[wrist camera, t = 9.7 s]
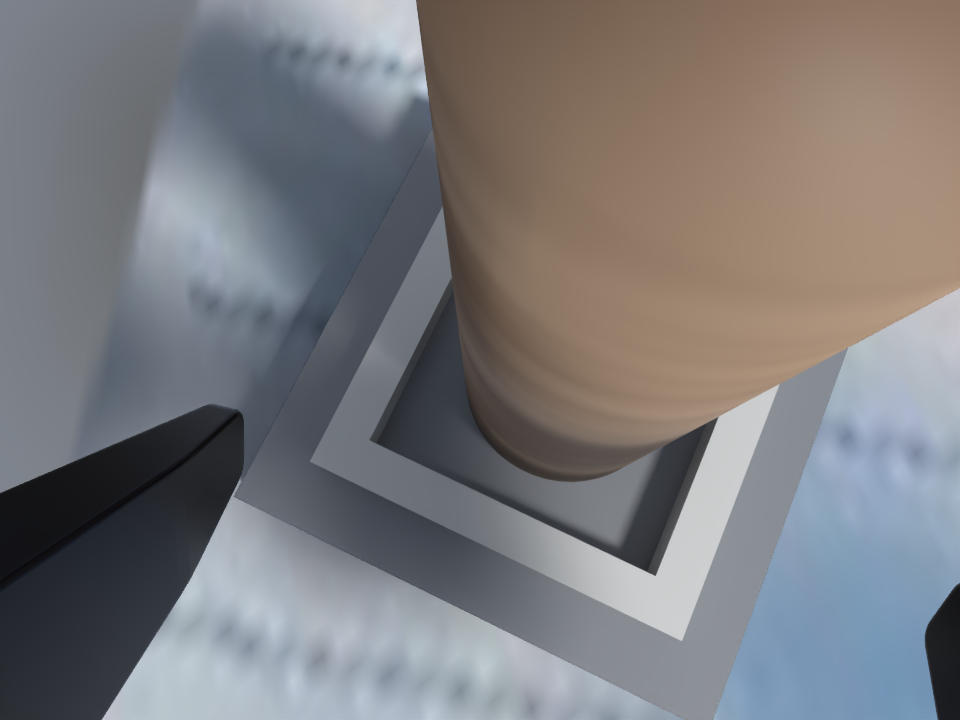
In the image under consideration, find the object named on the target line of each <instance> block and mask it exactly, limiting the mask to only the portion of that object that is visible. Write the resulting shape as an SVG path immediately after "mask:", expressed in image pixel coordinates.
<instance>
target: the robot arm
mask: <svg viewBox="0 0 960 720" xmlns="http://www.w3.org/2000/svg"><path fill="white" fill-rule="evenodd" d="M243 464H244V420H243V416H242V414H241V412H239V411H238V410H236V409H232V408H228V407H224V406H219V405H215V404H209V405H206V406H203V407H201V408H198V409H196V410H194V411H191V412H189V413H187V414H184V415H182V416H179V417H177V418H175V419H172V420H170V421H168V422H165V423H163V424H161V425H158V426H156V427H154V428H151V429H149V430H147V431H144V432H142V433H140V434H137V435H135V436H133V437H130V438H128V439H126V440H123V441H121V442H119V443H116V444H114V445H112V446H109V447H107V448H105V449H102V450H100V451H98V452H95V453H93V454H91V455H88V456H86V457H84V458H81V459H79V460H77V461H74V462H72V463H70V464H67V465H65V466H63V467H60V468H58V469H56V470H53V471H51V472H48V473H46V474H44V475H41V476H39V477H37V478H35V479H32V480H30V481H28V482H25V483H23V484H20V485H18V486H16V487H13V488H11V489H9V490H6V491H5V492H2V493H0V720H102V718H103V717H104V715H105V714H106V712H107V711H108V709H109V707H110V706H111V704H112V703H113V701H114V700H115V698H116V696H117V695H118V693H119V692H120V690H121V689H122V687H123V685H124V684H125V682H126V681H127V679H128V678H129V676H130V674H131V673H132V671H133V670H134V668H135V667H136V665H137V663H138V662H139V660H140V659H141V657H142V656H143V654H144V652H145V651H146V649H147V648H148V646H149V644H150V643H151V641H152V640H153V638H154V637H155V635H156V633H157V632H158V630H159V629H160V627H161V626H162V624H163V622H164V621H165V619H166V618H167V616H168V615H169V613H170V611H171V610H172V608H173V607H174V605H175V604H176V602H177V600H178V599H179V597H180V596H181V594H182V592H183V591H184V589H185V587H186V586H187V584H188V582H189V581H190V579H191V577H192V575H193V573H194V571H195V569H196V567H197V565H198V563H199V561H200V559H201V557H202V555H203V553H204V551H205V549H206V547H207V545H208V543H209V541H210V539H211V537H212V535H213V533H214V530H215V528H216V526H217V524H218V522H219V520H220V518H221V516H222V514H223V512H224V510H225V508H226V506H227V504H228V502H229V500H230V497H231V495H232V493H233V491H234V489H235V487H236V485H237V483H238V481H239V479H240V476H241V473H242V470H243ZM925 648H926V654H927V660H928V666H929V671H930V677H931V683H932V689H933V695H934V700H935V706H936V712H937V718H938V720H960V583H959V584H958V585H956V586H955V587H954V588H953V590H952V591H951V593H950V594H949V595H948V597H947V598H946V600H945V601H944V602H943V604H942V605H941V607H940V608H939V609H938V611H937V612H936V614H935V615H934V616H933V618H932V619H931V621H930V622H929V624H928V626H927V629H926V633H925Z"/></svg>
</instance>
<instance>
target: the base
mask: <svg viewBox="0 0 960 720" xmlns="http://www.w3.org/2000/svg"><path fill="white" fill-rule="evenodd" d="M847 349H848V348H846V349H844V350H843V351H841V352H839V353H837V354H835V355H833V356H831V357H829V358H828V359H826V360H824V361H822V362H820V363H818V364H816V365H814V366H813V367H811V368H809V369H807V370H805V371H803V372H801V373H799V374H798V375H796V376H794V377H792V378H790V379H788V380H786V381H784V382H783V383H781V384H779V385H777V386H775V387H773V388H771V389H769V390H768V391H766V392H764V393H762V394H760V395H758V396H756V397H754V398H753V399H751V400H749V401H747V402H745V403H743V404H741V405H739V406H738V407H736V408H734V409H732V410H730V411H728V412H726V413H724V414H723V415H721V416H719V417H717V418H715V419H713V420H711V421H709V422H708V423H706V424H704V425H702V426H700V427H698V428H696V429H694V430H693V431H691V432H689V433H687V434H685V435H683V436H681V437H680V438H678V439H676V440H674V441H672V442H670V443H668V444H666V445H665V446H663V447H661V448H659V449H657V450H655V451H653V452H651V453H650V454H648V455H646V456H644V457H642V458H640V459H638V460H636V461H635V462H633V463H631V464H629V465H627V466H625V467H623V468H621V469H620V470H618V471H616V472H614V473H612V474H609V475H606V476H604V477H601V478H597V479H593V480H588V481H580V482H559V481H554V480H548V479H544V478H541V477H537V476H534V475H531V474H529V473H527V472H525V471H523V470H521V469H519V468H517V467H516V466H514V465H513V464H511V463H509V462H508V461H507V460H506V459H504V458H503V457H502V456H501V455H500V454H498V453H497V452H496V451H495V449H494V448H493V447H492V446H491V445H490V444H489V443H488V442H487V440H486V439H485V437H484V436H483V434H482V433H481V432H480V430H479V428H478V426H477V424H476V422H475V420H474V417H473V415H472V412H471V409H470V406H469V401H468V397H467V391H466V383H465V375H464V367H463V360H462V352H461V344H460V336H459V329H458V321H457V313H456V305H455V298H454V290H453V282H452V274H451V267H450V259H449V251H448V243H447V236H446V228H445V220H444V212H443V205H442V197H441V189H440V181H439V174H438V166H437V158H436V150H435V143H434V135H433V127H432V129H431V131H430V133H429V135H428V137H427V139H426V140H425V142H424V144H423V146H422V148H421V150H420V152H419V153H418V155H417V157H416V159H415V161H414V163H413V165H412V166H411V168H410V170H409V172H408V174H407V176H406V178H405V179H404V181H403V183H402V185H401V187H400V189H399V191H398V192H397V194H396V196H395V198H394V200H393V202H392V204H391V205H390V207H389V209H388V211H387V213H386V215H385V217H384V218H383V220H382V222H381V224H380V226H379V228H378V230H377V231H376V233H375V235H374V237H373V239H372V241H371V243H370V244H369V246H368V248H367V250H366V252H365V254H364V256H363V257H362V259H361V261H360V263H359V265H358V267H357V269H356V270H355V272H354V274H353V276H352V278H351V280H350V282H349V283H348V285H347V287H346V289H345V291H344V293H343V295H342V296H341V298H340V300H339V302H338V304H337V306H336V308H335V309H334V311H333V313H332V315H331V317H330V319H329V321H328V322H327V324H326V326H325V328H324V330H323V332H322V334H321V335H320V337H319V339H318V341H317V343H316V345H315V347H314V348H313V350H312V352H311V354H310V356H309V358H308V360H307V361H306V363H305V365H304V367H303V369H302V371H301V373H300V374H299V376H298V378H297V380H296V382H295V384H294V386H293V387H292V389H291V391H290V393H289V395H288V397H287V399H286V400H285V402H284V404H283V406H282V408H281V410H280V412H279V413H278V415H277V417H276V419H275V421H274V423H273V425H272V426H271V428H270V430H269V432H268V434H267V436H266V438H265V440H264V441H263V443H262V445H261V447H260V449H259V451H258V453H257V454H256V456H255V458H254V460H253V462H252V464H251V466H250V467H249V469H248V471H247V473H246V475H245V477H244V479H243V480H242V482H241V484H240V486H239V488H238V490H237V492H236V493H235V495H234V497H235V498H237V499H239V500H241V501H243V502H246V503H248V504H250V505H252V506H254V507H256V508H258V509H260V510H262V511H264V512H266V513H268V514H270V515H272V516H274V517H276V518H278V519H280V520H282V521H284V522H286V523H288V524H290V525H292V526H294V527H296V528H298V529H300V530H302V531H304V532H306V533H308V534H310V535H312V536H314V537H316V538H318V539H320V540H322V541H324V542H326V543H328V544H330V545H332V546H335V547H337V548H339V549H341V550H343V551H345V552H347V553H349V554H351V555H353V556H355V557H357V558H359V559H361V560H363V561H365V562H367V563H369V564H371V565H373V566H375V567H377V568H379V569H381V570H383V571H385V572H387V573H389V574H391V575H393V576H395V577H397V578H399V579H401V580H403V581H405V582H407V583H409V584H411V585H413V586H415V587H417V588H419V589H422V590H424V591H426V592H428V593H430V594H432V595H434V596H436V597H438V598H440V599H442V600H444V601H446V602H448V603H450V604H452V605H454V606H456V607H458V608H460V609H462V610H464V611H466V612H468V613H470V614H472V615H474V616H476V617H478V618H480V619H482V620H484V621H486V622H488V623H490V624H492V625H494V626H496V627H498V628H500V629H502V630H504V631H506V632H508V633H511V634H513V635H515V636H517V637H519V638H521V639H523V640H525V641H527V642H529V643H531V644H533V645H535V646H537V647H539V648H541V649H543V650H545V651H547V652H549V653H551V654H553V655H555V656H557V657H559V658H561V659H563V660H565V661H567V662H569V663H571V664H573V665H575V666H577V667H579V668H581V669H583V670H585V671H587V672H589V673H591V674H593V675H595V676H598V677H600V678H602V679H604V680H606V681H608V682H610V683H612V684H614V685H616V686H618V687H620V688H622V689H624V690H626V691H628V692H630V693H632V694H634V695H636V696H638V697H640V698H642V699H644V700H646V701H648V702H650V703H652V704H654V705H656V706H658V707H660V708H662V709H664V710H666V711H668V712H670V713H672V714H674V715H676V716H678V717H680V718H682V719H684V720H713V719H714V716H715V713H716V710H717V708H718V705H719V702H720V699H721V697H722V694H723V691H724V688H725V686H726V683H727V680H728V677H729V675H730V672H731V669H732V666H733V664H734V661H735V658H736V655H737V653H738V650H739V647H740V644H741V641H742V639H743V636H744V633H745V630H746V628H747V625H748V622H749V619H750V617H751V614H752V611H753V608H754V606H755V603H756V600H757V597H758V595H759V592H760V589H761V586H762V584H763V581H764V578H765V575H766V573H767V570H768V567H769V564H770V562H771V559H772V556H773V553H774V550H775V548H776V545H777V542H778V539H779V537H780V534H781V531H782V528H783V526H784V523H785V520H786V517H787V515H788V512H789V509H790V506H791V504H792V501H793V498H794V495H795V493H796V490H797V487H798V484H799V482H800V479H801V476H802V473H803V471H804V468H805V465H806V462H807V459H808V457H809V454H810V451H811V448H812V446H813V443H814V440H815V437H816V435H817V432H818V429H819V426H820V424H821V421H822V418H823V415H824V413H825V410H826V407H827V404H828V402H829V399H830V396H831V393H832V391H833V388H834V385H835V382H836V380H837V377H838V374H839V371H840V368H841V366H842V363H843V360H844V357H845V355H846V352H847Z"/></svg>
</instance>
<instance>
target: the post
mask: <svg viewBox="0 0 960 720" xmlns="http://www.w3.org/2000/svg"><path fill="white" fill-rule="evenodd" d="M416 3H417V11H418V19H419V26H420V34H421V42H422V50H423V57H424V65H425V73H426V81H427V88H428V96H429V104H430V112H431V119H432V127H433V135H434V143H435V150H436V158H437V166H438V174H439V181H440V189H441V197H442V205H443V212H444V220H445V228H446V236H447V243H448V251H449V259H450V267H451V274H452V282H453V290H454V298H455V305H456V313H457V321H458V329H459V336H460V344H461V352H462V360H463V367H464V375H465V383H466V391H467V397H468V401H469V406H470V409H471V412H472V415H473V417H474V420H475V422H476V424H477V426H478V428H479V430H480V432H481V433H482V434H483V436H484V437H485V439H486V440H487V442H488V443H489V444H490V445H491V446H492V447H493V448H494V449H495V451H496V452H497V453H498V454H500V455H501V456H502V457H503V458H504V459H506V460H507V461H508V462H509V463H511V464H513V465H514V466H516V467H517V468H519V469H521V470H523V471H525V472H527V473H529V474H531V475H534V476H537V477H541V478H544V479H548V480H554V481H559V482H580V481H588V480H593V479H597V478H601V477H604V476H606V475H609V474H612V473H614V472H616V471H618V470H620V469H621V468H623V467H625V466H627V465H629V464H631V463H633V462H635V461H636V460H638V459H640V458H642V457H644V456H646V455H648V454H650V453H651V452H653V451H655V450H657V449H659V448H661V447H663V446H665V445H666V444H668V443H670V442H672V441H674V440H676V439H678V438H680V437H681V436H683V435H685V434H687V433H689V432H691V431H693V430H694V429H696V428H698V427H700V426H702V425H704V424H706V423H708V422H709V421H711V420H713V419H715V418H717V417H719V416H721V415H723V414H724V413H726V412H728V411H730V410H732V409H734V408H736V407H738V406H739V405H741V404H743V403H745V402H747V401H749V400H751V399H753V398H754V397H756V396H758V395H760V394H762V393H764V392H766V391H768V390H769V389H771V388H773V387H775V386H777V385H779V384H781V383H783V382H784V381H786V380H788V379H790V378H792V377H794V376H796V375H798V374H799V373H801V372H803V371H805V370H807V369H809V368H811V367H813V366H814V365H816V364H818V363H820V362H822V361H824V360H826V359H828V358H829V357H831V356H833V355H835V354H837V353H839V352H841V351H843V350H844V349H846V348H848V347H850V346H852V345H854V344H856V343H858V342H859V341H861V340H863V339H865V338H867V337H869V336H871V335H872V334H874V333H876V332H878V331H880V330H882V329H884V328H886V327H887V326H889V325H891V324H893V323H895V322H897V321H899V320H901V319H902V318H904V317H906V316H908V315H910V314H912V313H914V312H916V311H917V310H919V309H921V308H923V307H925V306H927V305H929V304H931V303H932V302H934V301H936V300H938V299H940V298H942V297H944V296H946V295H947V294H949V293H951V292H953V291H955V290H957V289H959V288H960V0H416Z"/></svg>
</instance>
